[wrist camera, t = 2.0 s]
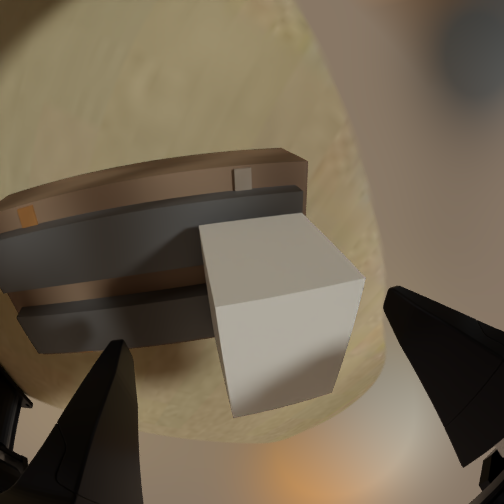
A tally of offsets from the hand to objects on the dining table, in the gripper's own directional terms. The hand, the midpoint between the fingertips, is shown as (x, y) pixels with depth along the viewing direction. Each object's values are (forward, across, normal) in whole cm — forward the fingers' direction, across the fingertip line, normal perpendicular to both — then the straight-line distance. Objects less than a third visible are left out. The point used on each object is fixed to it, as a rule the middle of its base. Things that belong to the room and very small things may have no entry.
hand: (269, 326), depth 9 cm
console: (+7, +4, 0) cm, 8 cm away
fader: (+3, 0, 0) cm, 3 cm away
